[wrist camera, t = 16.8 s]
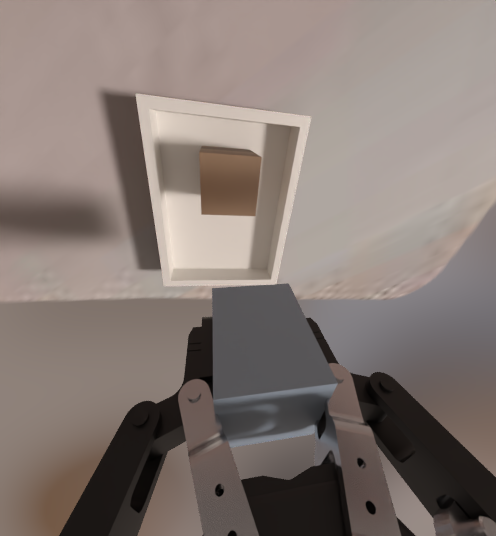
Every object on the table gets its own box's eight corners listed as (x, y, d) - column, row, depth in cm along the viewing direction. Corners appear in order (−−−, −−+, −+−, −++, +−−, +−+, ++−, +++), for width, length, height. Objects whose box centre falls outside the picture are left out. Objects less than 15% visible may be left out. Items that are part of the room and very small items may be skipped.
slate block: (212, 288, 12) (213, 399, 7) (288, 283, 13) (337, 383, 8) (216, 340, 15) (218, 449, 10) (280, 333, 15) (313, 433, 10)
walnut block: (201, 145, 20) (199, 152, 15) (249, 149, 21) (261, 157, 16) (203, 195, 22) (201, 214, 17) (245, 196, 23) (255, 216, 18)
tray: (168, 269, 28) (164, 286, 25) (147, 98, 18) (135, 93, 15) (269, 269, 30) (276, 284, 27) (297, 117, 21) (311, 116, 18)
